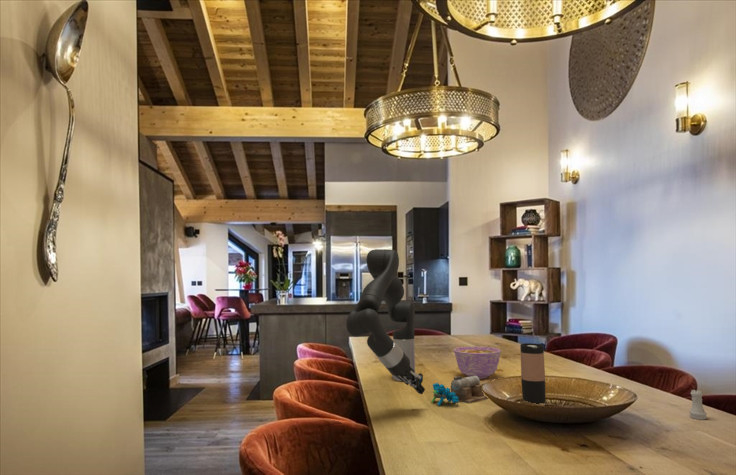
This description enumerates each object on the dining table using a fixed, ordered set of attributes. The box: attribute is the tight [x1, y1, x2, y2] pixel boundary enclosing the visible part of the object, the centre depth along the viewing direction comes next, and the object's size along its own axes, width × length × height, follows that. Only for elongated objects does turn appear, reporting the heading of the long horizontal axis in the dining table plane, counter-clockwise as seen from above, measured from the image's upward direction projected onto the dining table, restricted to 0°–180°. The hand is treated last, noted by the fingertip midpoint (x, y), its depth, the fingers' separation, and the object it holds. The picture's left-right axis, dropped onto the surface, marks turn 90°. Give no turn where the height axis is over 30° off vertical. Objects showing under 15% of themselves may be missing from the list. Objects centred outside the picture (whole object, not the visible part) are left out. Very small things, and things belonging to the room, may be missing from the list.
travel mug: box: [520, 342, 546, 404], centre depth 160 cm, size 8×8×20 cm
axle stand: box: [450, 375, 489, 404], centre depth 169 cm, size 12×10×8 cm
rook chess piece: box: [688, 389, 708, 421], centre depth 143 cm, size 4×4×8 cm
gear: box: [431, 382, 460, 407], centre depth 162 cm, size 11×6×10 cm
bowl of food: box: [453, 346, 501, 380], centre depth 205 cm, size 20×20×12 cm
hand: (422, 391), depth 156 cm, fingers closed
